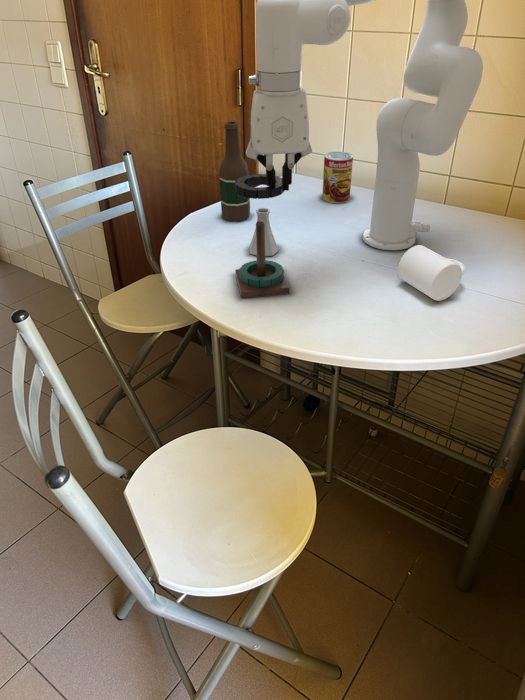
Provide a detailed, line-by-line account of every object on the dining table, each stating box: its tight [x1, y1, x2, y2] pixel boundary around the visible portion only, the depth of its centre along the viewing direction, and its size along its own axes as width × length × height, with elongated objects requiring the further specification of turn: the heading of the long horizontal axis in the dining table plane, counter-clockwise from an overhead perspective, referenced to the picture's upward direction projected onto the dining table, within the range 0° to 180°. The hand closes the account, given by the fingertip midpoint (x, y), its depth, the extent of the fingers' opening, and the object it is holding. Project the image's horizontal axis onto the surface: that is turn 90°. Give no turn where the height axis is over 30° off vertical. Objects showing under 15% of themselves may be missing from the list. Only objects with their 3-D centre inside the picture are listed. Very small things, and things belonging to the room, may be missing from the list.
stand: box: [234, 220, 290, 299], centre depth 108 cm, size 10×10×14 cm
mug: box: [397, 244, 467, 302], centre depth 107 cm, size 12×10×8 cm
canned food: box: [321, 151, 354, 204], centre depth 148 cm, size 8×8×12 cm
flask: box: [248, 207, 279, 257], centre depth 122 cm, size 7×7×10 cm
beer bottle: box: [218, 120, 251, 223], centre depth 135 cm, size 8×8×24 cm
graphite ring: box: [235, 173, 286, 200], centre depth 99 cm, size 9×9×2 cm
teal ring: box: [238, 259, 285, 287], centre depth 111 cm, size 9×9×2 cm
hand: (278, 188), depth 100 cm, fingers closed on graphite ring, 2 cm apart
